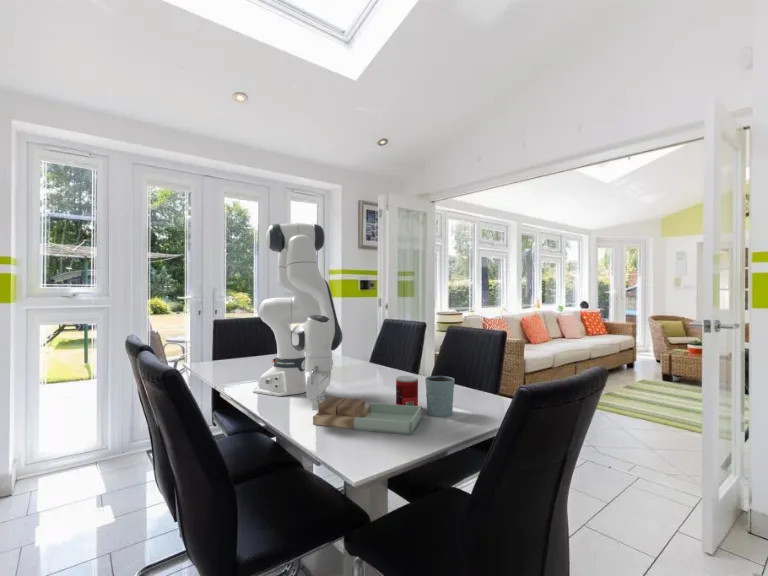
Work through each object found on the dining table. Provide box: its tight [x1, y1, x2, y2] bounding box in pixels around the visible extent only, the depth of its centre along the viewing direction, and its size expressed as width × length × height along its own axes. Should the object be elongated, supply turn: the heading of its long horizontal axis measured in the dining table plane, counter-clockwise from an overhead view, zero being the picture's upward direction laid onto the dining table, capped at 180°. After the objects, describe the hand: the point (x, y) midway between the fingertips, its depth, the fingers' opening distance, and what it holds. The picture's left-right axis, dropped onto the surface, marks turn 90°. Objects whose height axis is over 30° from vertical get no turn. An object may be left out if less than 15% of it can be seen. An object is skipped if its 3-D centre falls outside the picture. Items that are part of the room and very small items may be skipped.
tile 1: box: [317, 396, 348, 415], centre depth 139 cm, size 6×10×3 cm, turn 165°
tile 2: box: [337, 397, 366, 417], centre depth 138 cm, size 6×10×3 cm, turn 165°
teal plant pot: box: [424, 375, 456, 418], centre depth 145 cm, size 10×10×12 cm
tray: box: [353, 402, 423, 436], centre depth 134 cm, size 18×18×4 cm
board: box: [312, 405, 370, 429], centre depth 138 cm, size 14×16×2 cm
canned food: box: [395, 375, 419, 406], centre depth 150 cm, size 8×8×11 cm
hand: (318, 405), depth 141 cm, fingers open, 8 cm apart
